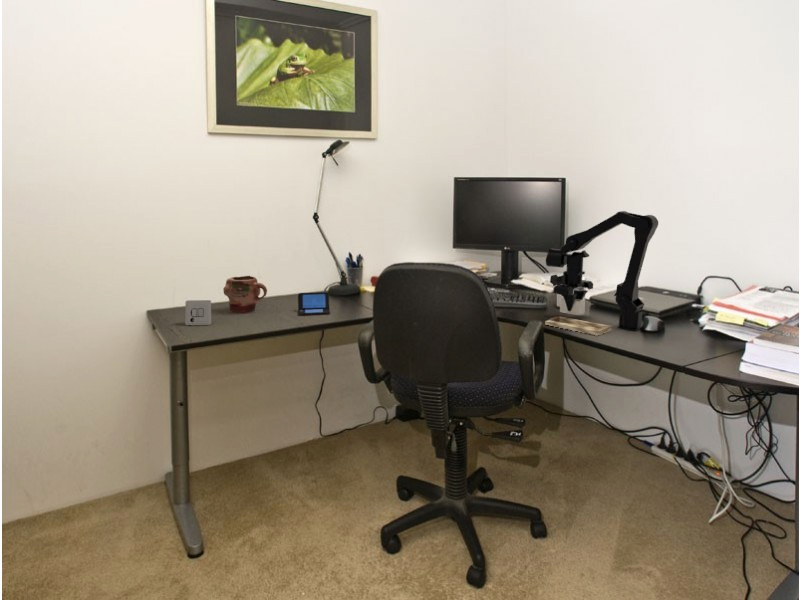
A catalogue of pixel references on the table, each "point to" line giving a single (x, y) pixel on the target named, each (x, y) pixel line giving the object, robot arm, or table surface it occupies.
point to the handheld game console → (313, 304)
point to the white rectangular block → (576, 309)
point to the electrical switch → (198, 312)
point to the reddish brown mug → (243, 293)
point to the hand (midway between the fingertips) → (572, 310)
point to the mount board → (578, 325)
